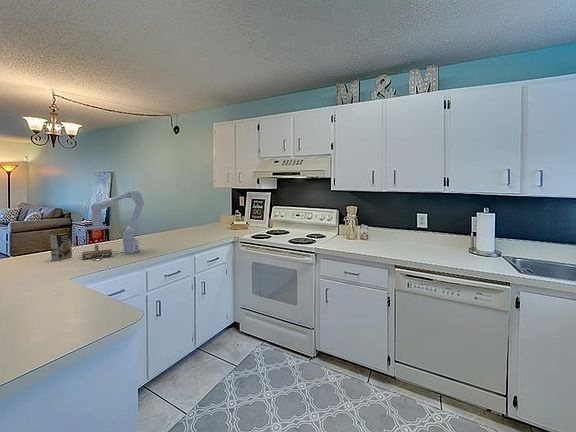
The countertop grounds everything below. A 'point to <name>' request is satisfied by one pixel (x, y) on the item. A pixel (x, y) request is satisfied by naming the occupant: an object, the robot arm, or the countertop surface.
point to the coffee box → (61, 246)
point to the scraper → (98, 254)
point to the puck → (97, 259)
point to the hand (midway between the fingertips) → (98, 240)
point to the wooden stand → (96, 253)
